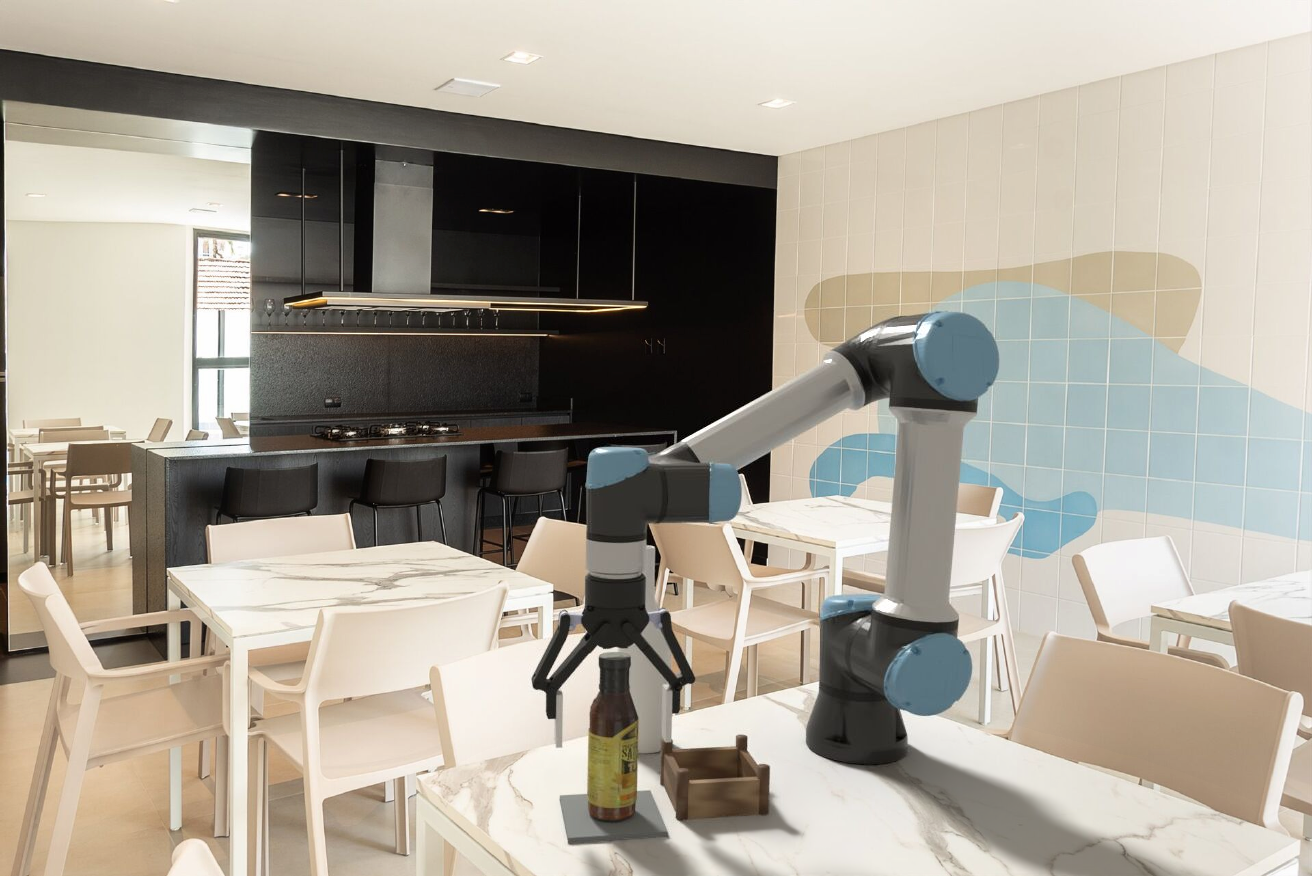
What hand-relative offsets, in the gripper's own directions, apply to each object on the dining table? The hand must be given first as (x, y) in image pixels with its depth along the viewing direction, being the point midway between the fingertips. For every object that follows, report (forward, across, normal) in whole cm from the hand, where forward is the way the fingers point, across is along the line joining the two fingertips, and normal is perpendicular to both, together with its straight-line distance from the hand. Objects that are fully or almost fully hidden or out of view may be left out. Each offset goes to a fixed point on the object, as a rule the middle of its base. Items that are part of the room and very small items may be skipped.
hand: (612, 741), depth 122 cm
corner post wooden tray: (+10, -14, -4) cm, 17 cm away
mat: (+10, 0, 0) cm, 10 cm away
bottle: (+10, -8, -24) cm, 27 cm away
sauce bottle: (+9, 0, 0) cm, 9 cm away
